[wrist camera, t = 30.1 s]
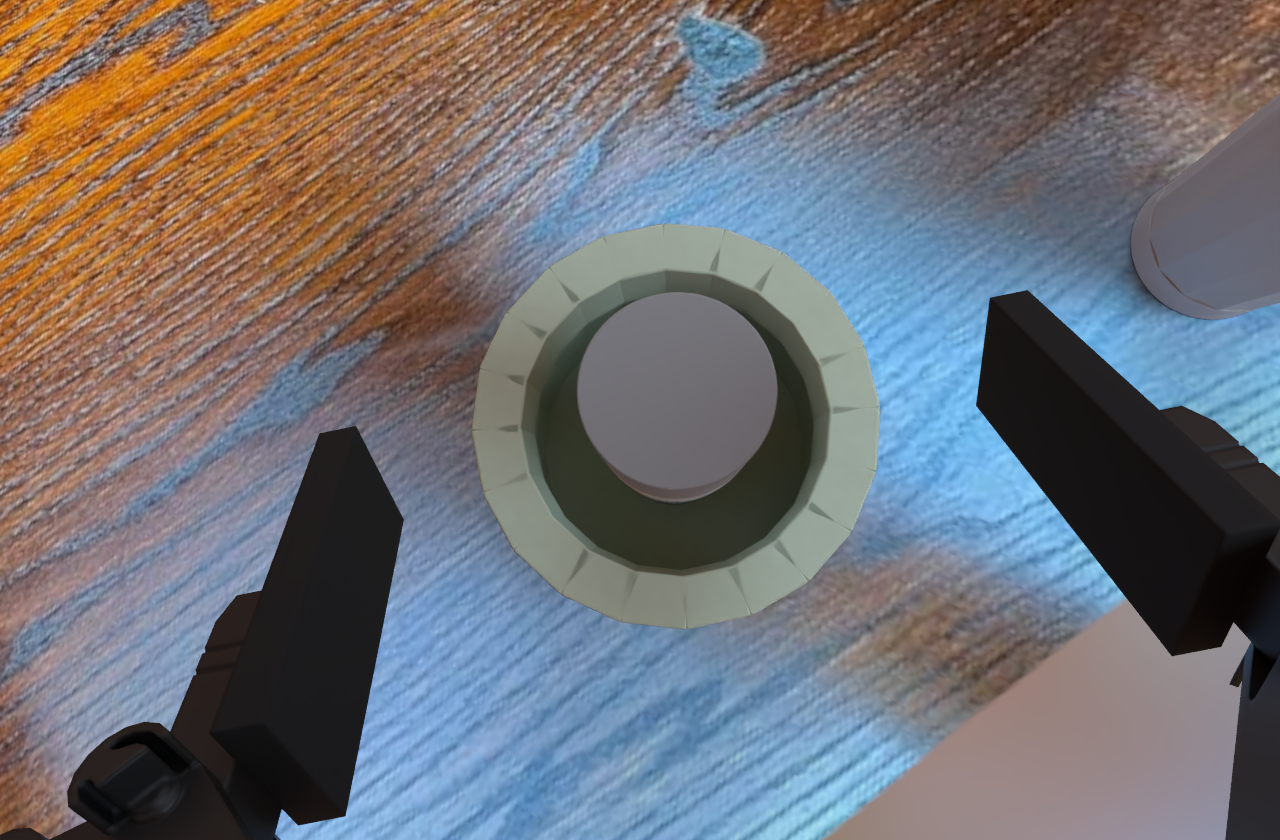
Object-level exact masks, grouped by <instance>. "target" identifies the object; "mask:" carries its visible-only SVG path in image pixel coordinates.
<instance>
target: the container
mask: <svg viewBox="0 0 1280 840" xmlns="http://www.w3.org/2000/svg"><path fill="white" fill-rule="evenodd" d="M577 404H578V410H579V415H580V418H581V422H582V425H583V427H584V429H585V432H586V434H587V436H588V438H589V440H590V441H591V443H592V445H593V446H594V447H595V449H596V450H597V452H598V453H599V454H600V456H601V457H602V458H603V459H604V461H605V462H606V463H607V465H608V466H609V468H610V469H611V470H612V472H613V473H614V474H615V475H616V476H617V477H618V478H619V479H620V480H621V481H623V482H624V483H625V484H626V485H628V486H629V487H631V488H632V489H634V490H635V491H637V492H638V493H640V494H641V495H643V496H644V497H646V498H648V499H650V500H652V501H655V502H657V503H661V504H666V505H683V504H688V503H692V502H695V501H697V500H700V499H701V498H703V497H705V496H707V495H709V494H711V493H712V492H714V491H716V490H718V489H719V488H721V487H722V486H724V485H725V484H727V483H728V482H729V481H730V480H731V479H733V478H734V477H735V476H736V475H737V473H738V472H739V471H740V470H741V469H742V468H743V466H744V465H745V464H746V463H747V462H748V461H749V460H750V459H751V458H752V456H753V455H754V454H755V453H756V452H757V450H758V449H759V448H760V446H761V445H762V443H763V441H764V440H765V438H766V436H767V434H768V432H769V429H770V427H771V425H772V422H773V418H774V415H775V410H776V404H777V378H776V372H775V367H774V364H773V361H772V357H771V355H770V353H769V350H768V348H767V346H766V344H765V343H764V341H763V339H762V338H761V336H760V335H759V333H758V332H757V331H756V329H755V328H754V327H753V326H752V325H751V324H750V323H749V322H748V321H747V320H746V319H745V318H744V317H743V316H742V315H741V314H739V313H738V312H737V311H735V310H734V309H732V308H731V307H729V306H728V305H726V304H724V303H722V302H720V301H717V300H715V299H712V298H710V297H707V296H703V295H699V294H694V293H685V292H670V293H661V294H655V295H651V296H648V297H645V298H642V299H639V300H637V301H634V302H632V303H630V304H628V305H627V306H625V307H623V308H622V309H620V310H619V311H618V312H616V313H615V314H614V315H612V316H611V317H610V318H609V319H608V320H607V321H606V322H605V323H604V324H603V325H602V326H601V327H600V328H599V330H598V331H597V332H596V334H595V335H594V336H593V338H592V339H591V341H590V343H589V345H588V346H587V348H586V351H585V353H584V355H583V358H582V361H581V364H580V368H579V373H578V378H577Z"/></svg>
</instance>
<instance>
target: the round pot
mask: <svg viewBox="0 0 1280 840" xmlns="http://www.w3.org/2000/svg"><path fill="white" fill-rule="evenodd" d="M670 292H685V293H694V294H699V295H703V296H707V297H710V298H712V299H715V300H717V301H720V302H722V303H724V304H726V305H728V306H729V307H731V308H732V309H734V310H735V311H737V312H738V313H739V314H741V315H742V316H743V317H744V318H745V319H746V320H747V321H748V322H749V323H750V324H751V325H752V326H753V327H754V328H755V329H756V331H757V332H758V333H759V335H760V336H761V338H762V339H763V341H764V343H765V344H766V346H767V348H768V350H769V353H770V355H771V357H772V361H773V364H774V367H775V372H776V378H777V404H776V410H775V415H774V418H773V422H772V425H771V427H770V429H769V432H768V434H767V436H766V438H765V440H764V441H763V443H762V445H761V446H760V448H759V449H758V450H757V452H756V453H755V454H754V455H753V456H752V458H751V459H750V460H749V461H748V462H747V463H746V464H745V465H744V466H743V468H742V469H741V470H740V471H739V472H738V473H737V475H736V476H735V477H734V478H733V479H731V480H730V481H729V482H728V483H727V484H725V485H724V486H722V487H721V488H719V489H718V490H716V491H714V492H712V493H711V494H709V495H707V496H705V497H703V498H701V499H700V500H697V501H695V502H692V503H688V504H683V505H666V504H661V503H657V502H655V501H652V500H650V499H648V498H646V497H644V496H643V495H641V494H640V493H638V492H637V491H635V490H634V489H632V488H631V487H629V486H628V485H626V484H625V483H624V482H623V481H621V480H620V479H619V478H618V477H617V476H616V475H615V474H614V473H613V472H612V470H611V469H610V468H609V466H608V465H607V463H606V462H605V461H604V459H603V458H602V457H601V456H600V454H599V453H598V452H597V450H596V449H595V447H594V446H593V445H592V443H591V441H590V440H589V438H588V436H587V434H586V432H585V429H584V427H583V425H582V422H581V418H580V415H579V410H578V404H577V378H578V373H579V368H580V364H581V361H582V358H583V355H584V353H585V351H586V348H587V346H588V345H589V343H590V341H591V339H592V338H593V336H594V335H595V334H596V332H597V331H598V330H599V328H600V327H601V326H602V325H603V324H604V323H605V322H606V321H607V320H608V319H609V318H610V317H611V316H612V315H614V314H615V313H616V312H618V311H619V310H620V309H622V308H623V307H625V306H627V305H628V304H630V303H632V302H634V301H637V300H639V299H642V298H645V297H648V296H651V295H655V294H661V293H670ZM863 346H864V343H863V342H862V340H861V338H860V337H859V335H858V334H857V332H856V331H855V329H854V327H853V326H852V324H851V323H850V321H849V320H848V318H847V316H846V315H845V313H844V312H843V310H842V309H841V307H840V305H839V304H838V302H837V301H836V299H835V298H834V296H833V294H832V293H830V291H829V290H828V289H827V288H825V287H824V286H823V285H822V284H821V283H819V282H818V281H817V280H816V279H815V278H813V277H812V276H811V275H810V274H809V273H807V272H806V271H805V270H804V269H803V268H801V267H800V266H799V265H798V264H797V263H795V262H794V261H793V260H792V259H791V258H789V257H788V256H787V255H786V254H785V253H781V252H780V251H778V250H776V249H774V248H771V247H769V246H766V245H764V244H761V243H759V242H756V241H754V240H751V239H749V238H747V237H744V236H742V235H739V234H737V233H734V232H732V231H729V230H726V229H725V230H724V229H722V228H713V227H702V226H690V225H678V224H666V223H665V224H663V225H662V224H657V225H653V226H648V227H644V228H639V229H635V230H630V231H625V232H621V233H616V234H612V235H607V236H604V237H603V238H602V237H600V238H598V239H596V240H595V241H593V242H591V243H589V244H588V245H586V246H584V247H582V248H581V249H579V250H577V251H575V252H573V253H572V254H570V255H568V256H566V257H565V258H563V259H561V260H559V261H558V262H556V263H554V264H552V265H551V266H550V267H549V268H548V269H546V270H545V271H544V272H543V273H542V274H541V276H540V277H539V278H538V279H537V280H536V281H535V282H534V283H533V284H532V285H531V286H530V287H529V288H528V289H527V291H526V292H525V293H524V294H523V295H522V296H521V297H520V298H519V299H518V300H517V301H516V302H515V303H514V305H513V306H512V307H511V308H510V309H509V310H508V312H507V313H505V315H504V317H503V319H502V321H501V324H500V326H499V328H498V330H497V332H496V334H495V336H494V338H493V340H492V343H491V345H490V347H489V349H488V351H487V353H486V355H485V357H484V359H483V362H482V364H481V366H480V369H481V370H480V371H479V376H478V383H477V391H476V399H475V406H474V414H473V421H472V430H473V432H472V438H473V443H474V449H475V454H476V460H477V465H478V471H479V476H480V481H481V487H482V491H483V492H484V497H485V499H486V501H487V503H488V504H489V506H490V508H491V510H492V512H493V514H494V515H495V517H496V519H497V521H498V523H499V525H500V526H501V528H502V530H503V532H504V534H505V536H506V537H507V539H508V541H509V543H510V545H511V547H512V548H513V549H514V551H515V552H516V553H517V554H518V555H519V556H520V557H521V558H522V559H523V560H524V561H526V562H527V563H528V564H529V565H530V566H531V567H532V568H533V569H534V570H535V571H536V572H537V573H538V574H539V575H540V576H541V577H543V578H544V579H545V580H546V581H547V582H548V583H549V584H550V585H551V586H552V587H553V588H554V589H555V590H556V591H557V592H559V593H560V594H562V595H563V596H565V597H567V598H569V599H571V600H574V601H576V602H578V603H580V604H582V605H584V606H587V607H589V608H591V609H593V610H595V611H597V612H599V613H602V614H604V615H606V616H608V617H610V618H612V619H615V620H617V621H621V622H623V623H632V624H641V625H650V626H658V627H667V628H676V629H686V628H687V629H691V628H696V627H701V626H706V625H710V624H715V623H720V622H724V621H729V620H734V619H739V618H743V617H748V616H750V614H751V615H754V614H755V613H757V612H759V611H760V610H762V609H764V608H765V607H767V606H769V605H771V604H772V603H774V602H776V601H777V600H779V599H781V598H782V597H784V596H786V595H788V594H789V593H791V592H793V591H794V590H796V589H798V588H799V587H801V586H803V585H805V584H806V583H807V581H809V580H811V579H812V577H813V576H814V575H815V574H816V573H817V572H818V570H819V569H820V568H821V567H822V566H823V565H824V564H825V562H826V561H827V560H828V559H829V558H830V557H831V555H832V554H833V553H834V552H835V551H836V550H837V549H838V547H839V546H840V545H841V544H842V543H843V542H844V540H845V539H846V538H847V537H848V536H849V535H850V531H852V530H853V528H854V525H855V523H856V520H857V518H858V515H859V513H860V511H861V508H862V506H863V503H864V501H865V498H866V496H867V494H868V491H869V489H870V486H871V484H872V481H873V479H874V477H875V472H874V471H876V469H877V455H878V440H879V425H880V408H879V407H880V403H879V399H878V395H877V391H876V388H875V384H874V380H873V376H872V372H871V368H870V364H869V360H868V356H867V353H866V349H865V347H863Z"/></svg>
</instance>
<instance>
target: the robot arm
mask: <svg viewBox="0 0 1280 840" xmlns="http://www.w3.org/2000/svg"><path fill="white" fill-rule="evenodd" d="M976 406H977V407H978V409H979V410H980V411H981V412H982V414H983V415H984V416H985V418H986V419H987V420H988V421H989V423H990V424H991V425H992V426H993V428H994V429H995V430H996V432H997V433H998V434H999V435H1000V437H1001V438H1002V439H1003V441H1004V442H1005V443H1006V444H1007V446H1008V447H1009V448H1010V450H1011V451H1012V452H1013V453H1014V455H1015V456H1016V457H1017V459H1018V460H1019V461H1020V462H1021V464H1022V465H1023V466H1024V467H1025V469H1026V470H1027V471H1028V473H1029V474H1030V475H1031V476H1032V478H1033V479H1034V480H1035V482H1036V483H1037V484H1038V485H1039V487H1040V488H1041V489H1042V491H1043V492H1044V493H1045V494H1046V496H1047V497H1048V498H1049V499H1050V501H1051V502H1052V503H1053V505H1054V506H1055V507H1056V508H1057V510H1058V511H1059V512H1060V514H1061V515H1062V516H1063V517H1064V519H1065V520H1066V521H1067V523H1068V524H1069V525H1070V526H1071V528H1072V529H1073V530H1074V531H1075V533H1076V534H1077V535H1078V537H1079V538H1080V539H1081V540H1082V542H1083V543H1084V544H1085V546H1086V547H1087V548H1088V549H1089V551H1090V552H1091V553H1092V555H1093V556H1094V557H1095V558H1096V560H1097V561H1098V562H1099V563H1100V565H1101V566H1102V567H1103V569H1104V570H1105V571H1106V572H1107V574H1108V575H1109V576H1110V578H1111V579H1112V580H1113V581H1114V583H1115V584H1116V585H1117V587H1118V588H1119V589H1120V590H1121V592H1122V593H1123V594H1124V595H1125V597H1126V598H1127V599H1128V601H1129V602H1130V603H1131V604H1132V605H1133V607H1134V608H1135V610H1136V611H1137V612H1138V613H1139V615H1140V616H1141V617H1142V619H1143V620H1144V621H1145V622H1146V624H1147V625H1148V626H1149V627H1150V629H1151V630H1152V631H1153V633H1154V634H1155V635H1156V636H1157V638H1158V639H1159V640H1160V642H1161V643H1162V644H1163V645H1164V647H1165V648H1166V649H1167V650H1168V652H1169V653H1170V654H1171V656H1175V655H1181V654H1186V653H1191V652H1197V651H1201V650H1207V649H1212V648H1217V647H1221V646H1222V644H1223V642H1224V640H1225V638H1226V636H1227V634H1228V632H1229V630H1230V628H1231V626H1232V624H1233V622H1234V623H1235V624H1236V625H1237V626H1238V627H1239V629H1240V630H1241V631H1242V632H1243V633H1244V634H1245V635H1246V636H1247V637H1248V639H1249V640H1250V641H1251V644H1250V645H1249V647H1248V649H1247V651H1246V653H1245V655H1244V657H1243V659H1242V660H1241V662H1240V664H1239V666H1238V668H1237V670H1236V672H1235V673H1234V676H1233V678H1232V680H1231V682H1230V685H1233V686H1236V687H1239V685H1240V683H1241V681H1242V687H1241V697H1240V706H1239V716H1238V725H1237V735H1236V744H1235V754H1234V763H1233V773H1232V782H1231V793H1230V801H1229V810H1228V820H1227V829H1226V840H1280V477H1279V476H1278V475H1277V474H1276V473H1275V472H1274V471H1272V470H1271V469H1270V468H1269V467H1268V466H1267V465H1265V464H1264V463H1259V462H1258V458H1257V457H1256V456H1255V455H1254V454H1252V453H1251V452H1250V451H1249V450H1248V449H1247V448H1245V447H1244V446H1239V442H1238V441H1237V440H1236V439H1235V438H1234V437H1233V436H1231V435H1230V434H1229V433H1228V432H1227V431H1225V430H1224V429H1223V428H1222V427H1221V426H1220V425H1218V424H1217V423H1216V422H1215V421H1213V420H1211V419H1209V418H1207V417H1204V416H1202V415H1200V414H1198V413H1196V412H1194V411H1192V410H1190V409H1188V408H1185V407H1183V406H1178V407H1173V408H1168V409H1163V410H1158V409H1157V408H1156V407H1155V406H1154V405H1153V404H1152V403H1151V402H1150V401H1149V400H1147V399H1146V398H1145V397H1144V396H1143V395H1142V394H1141V393H1140V392H1139V391H1138V390H1137V389H1135V388H1134V387H1133V386H1132V385H1131V384H1130V383H1129V382H1128V381H1127V380H1126V379H1124V378H1123V377H1122V376H1121V375H1120V374H1119V373H1118V372H1117V371H1116V370H1115V369H1113V368H1112V367H1111V366H1110V365H1109V364H1108V363H1107V362H1106V361H1105V360H1104V359H1102V358H1101V357H1100V356H1099V355H1098V354H1097V353H1096V352H1095V351H1094V350H1093V349H1091V348H1090V347H1089V346H1088V345H1087V344H1086V343H1085V342H1084V341H1083V340H1082V339H1081V338H1079V337H1078V336H1077V335H1076V334H1075V333H1074V332H1073V331H1072V330H1071V329H1070V328H1068V327H1067V326H1066V325H1065V324H1064V323H1063V322H1062V321H1061V320H1060V319H1059V318H1057V317H1056V316H1055V315H1054V314H1053V313H1052V312H1051V311H1050V310H1049V309H1048V308H1046V307H1045V306H1044V305H1043V304H1042V303H1041V302H1040V301H1039V300H1038V299H1037V298H1036V297H1034V296H1033V295H1032V294H1031V293H1030V292H1029V291H1028V290H1026V291H1021V292H1016V293H1011V294H1006V295H1002V296H997V297H992V298H990V301H989V309H988V317H987V325H986V333H985V340H984V348H983V356H982V364H981V371H980V379H979V387H978V395H977V402H976ZM403 521H404V519H403V517H402V515H401V514H400V512H399V510H398V508H397V506H396V504H395V502H394V500H393V498H392V496H391V494H390V492H389V490H388V488H387V486H386V484H385V482H384V480H383V478H382V476H381V474H380V472H379V470H378V468H377V466H376V464H375V463H374V461H373V459H372V457H371V455H370V453H369V451H368V449H367V447H366V445H365V443H364V441H363V439H362V437H361V435H360V433H359V431H358V429H357V427H356V426H354V427H349V428H344V429H339V430H334V431H329V432H324V433H319V436H318V439H317V442H316V444H315V447H314V450H313V452H312V455H311V458H310V461H309V463H308V466H307V469H306V471H305V474H304V477H303V480H302V482H301V485H300V488H299V490H298V493H297V496H296V499H295V501H294V504H293V507H292V509H291V512H290V515H289V518H288V520H287V523H286V526H285V528H284V531H283V534H282V537H281V539H280V542H279V545H278V547H277V550H276V553H275V556H274V558H273V561H272V564H271V566H270V569H269V572H268V574H267V577H266V580H265V583H264V585H263V588H262V591H257V592H252V593H247V594H242V595H237V596H236V597H235V599H234V600H233V601H232V602H231V603H230V605H229V606H228V607H227V608H226V610H225V611H224V612H223V613H222V614H221V616H220V617H219V618H218V619H217V621H216V622H215V625H214V627H213V629H212V632H211V634H210V637H209V639H208V642H207V644H206V646H205V653H203V654H202V656H201V658H200V661H199V663H198V666H197V668H196V672H197V673H196V675H194V676H193V678H192V680H191V683H190V685H189V688H188V690H187V692H186V695H185V697H184V700H183V702H182V704H181V707H180V709H179V712H178V714H177V717H176V719H175V721H174V724H173V726H172V729H171V731H168V730H167V729H166V728H165V727H164V726H162V725H161V724H160V723H151V722H142V723H139V724H136V725H132V726H129V727H126V728H124V729H122V730H120V731H119V732H117V733H115V734H113V735H112V736H110V737H108V738H107V739H105V740H104V741H103V742H102V743H101V744H100V745H99V746H97V747H96V748H95V749H94V750H93V751H92V752H91V753H90V754H88V756H87V757H86V758H85V760H84V761H83V762H82V764H81V765H80V766H79V768H78V769H77V771H76V772H75V773H74V776H73V778H72V781H71V783H70V786H69V789H68V791H67V794H68V807H69V808H70V809H72V810H73V811H74V812H76V813H77V814H78V815H80V816H81V817H82V818H84V819H85V820H86V821H87V822H85V823H83V824H80V825H78V826H76V827H74V828H72V829H70V830H68V831H66V832H64V833H62V834H60V835H58V836H56V837H54V838H52V839H50V840H280V839H279V838H278V837H277V836H276V835H275V832H276V828H277V824H278V820H279V817H280V813H281V809H283V810H284V811H285V812H286V813H287V814H288V816H289V817H290V818H291V819H292V820H293V821H294V822H295V823H296V824H297V825H303V824H308V823H313V822H318V821H323V820H329V819H334V818H339V817H344V816H346V811H347V806H348V800H349V795H350V790H351V785H352V780H353V775H354V770H355V765H356V760H357V755H358V750H359V745H360V740H361V735H362V729H363V724H364V719H365V714H366V709H367V704H368V699H369V694H370V689H371V684H372V679H373V674H374V669H375V663H376V658H377V653H378V648H379V643H380V638H381V633H382V628H383V623H384V618H385V613H386V608H387V603H388V597H389V592H390V587H391V582H392V577H393V572H394V567H395V562H396V557H397V552H398V547H399V542H400V537H401V532H402V526H403ZM0 840H49V839H47V838H46V837H44V836H43V835H41V834H40V833H38V832H36V831H35V830H33V829H31V828H22V829H13V830H10V831H8V832H6V833H3V834H1V835H0Z"/></svg>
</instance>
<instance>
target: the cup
mask: <svg viewBox="0 0 1280 840" xmlns="http://www.w3.org/2000/svg"><path fill="white" fill-rule="evenodd" d="M1131 253H1132V258H1133V262H1134V265H1135V268H1136V270H1137V273H1138V275H1139V277H1140V278H1141V280H1142V282H1143V283H1144V285H1145V286H1146V287H1147V289H1148V290H1149V291H1150V292H1151V293H1152V294H1153V295H1154V296H1155V297H1156V298H1157V299H1158V300H1159V301H1161V302H1162V303H1163V304H1165V305H1166V306H1168V307H1169V308H1171V309H1173V310H1175V311H1177V312H1179V313H1181V314H1184V315H1187V316H1190V317H1194V318H1199V319H1207V320H1218V319H1227V318H1232V317H1235V316H1238V315H1241V314H1244V313H1247V312H1250V311H1253V310H1255V309H1258V308H1262V307H1266V306H1270V305H1274V304H1278V303H1280V94H1278V95H1277V96H1276V97H1275V98H1274V99H1272V100H1271V101H1270V102H1269V103H1267V104H1266V105H1265V106H1264V107H1263V108H1261V109H1260V110H1259V111H1258V112H1256V113H1255V114H1254V115H1253V116H1252V117H1250V118H1249V119H1248V120H1247V121H1245V122H1244V123H1243V124H1242V125H1241V126H1239V127H1238V128H1237V129H1236V130H1234V131H1233V132H1232V133H1231V134H1230V135H1228V136H1227V137H1226V138H1225V139H1223V140H1222V141H1221V142H1220V143H1219V144H1217V145H1216V146H1215V147H1214V148H1212V149H1211V150H1210V151H1209V152H1208V153H1206V154H1205V155H1204V156H1203V157H1201V158H1200V159H1199V160H1198V161H1197V162H1195V163H1194V164H1193V165H1192V166H1190V167H1189V168H1188V169H1187V170H1186V171H1184V172H1183V173H1182V174H1181V175H1180V176H1178V177H1177V178H1176V179H1174V180H1173V181H1171V182H1170V183H1168V184H1167V185H1165V186H1164V187H1162V188H1161V189H1159V190H1158V191H1157V192H1155V193H1154V194H1153V195H1152V196H1151V197H1150V198H1149V199H1148V200H1147V201H1146V202H1145V203H1144V205H1143V206H1142V207H1141V209H1140V211H1139V212H1138V214H1137V216H1136V219H1135V221H1134V224H1133V228H1132V233H1131Z"/></svg>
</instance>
